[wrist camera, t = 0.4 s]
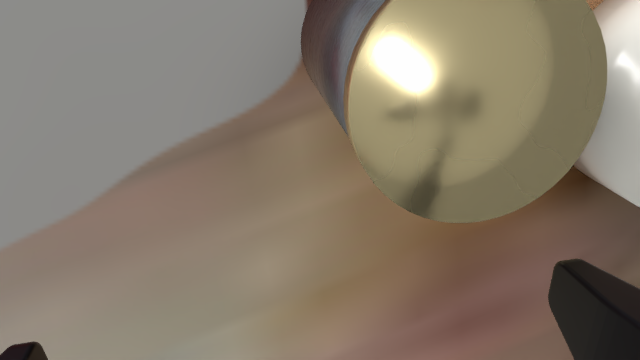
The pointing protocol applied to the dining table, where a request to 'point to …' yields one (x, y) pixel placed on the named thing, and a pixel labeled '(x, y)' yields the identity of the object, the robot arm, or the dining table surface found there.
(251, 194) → the dining table surface
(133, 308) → the dining table surface
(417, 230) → the dining table surface
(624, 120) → the ceramic trivet
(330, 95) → the grey tin
